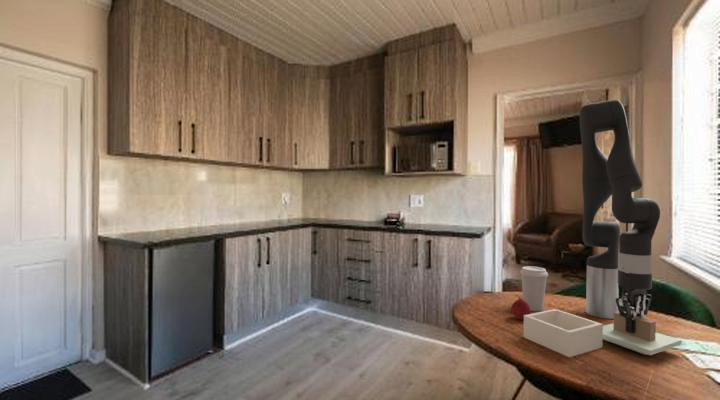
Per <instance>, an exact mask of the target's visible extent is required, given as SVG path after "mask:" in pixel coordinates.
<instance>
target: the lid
mask: <svg viewBox="0 0 720 400" xmlns="http://www.w3.org/2000/svg"><path fill="white" fill-rule="evenodd" d="M625 321H626V319H625V318H624V317H621V316H620V314H619V310H618V312H614V319H613V323H609V324H606V325H603V341H606V342H609V343H612V344H614V345H616V346H617V345H618V346H620V347H623V348H624V349H625V348H626V349H629V350H632V351H634V352H637V353H640V354H641V355H646V356H647V355H648V356H653V355H655V354H658V353H662V352H664V351H667V350H670V349H673V348H676V347H679V346H681V345H682V339H680V338H679V339H678V338H676V337H672V336H669V335H665V334H662V333H659V332H656V329H657V328H656V325H657V324H656V323H657V322H656V321H655V320H652V319H648V318H645V317H644V318H642V317H638V316H636V332H635V333H634V334H632V333H629V332H626V330H625Z"/></svg>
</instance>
